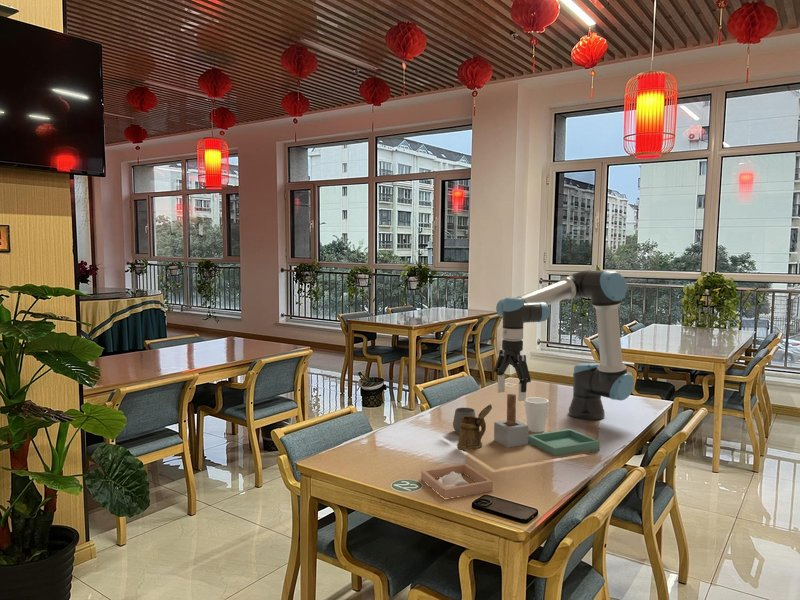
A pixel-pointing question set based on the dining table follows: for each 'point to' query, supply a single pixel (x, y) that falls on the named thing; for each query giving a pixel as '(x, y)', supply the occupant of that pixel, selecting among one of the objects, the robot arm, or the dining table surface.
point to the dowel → (511, 409)
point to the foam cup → (536, 413)
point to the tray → (564, 442)
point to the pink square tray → (479, 487)
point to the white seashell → (452, 480)
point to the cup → (458, 417)
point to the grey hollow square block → (511, 434)
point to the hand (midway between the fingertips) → (511, 396)
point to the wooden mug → (472, 430)
